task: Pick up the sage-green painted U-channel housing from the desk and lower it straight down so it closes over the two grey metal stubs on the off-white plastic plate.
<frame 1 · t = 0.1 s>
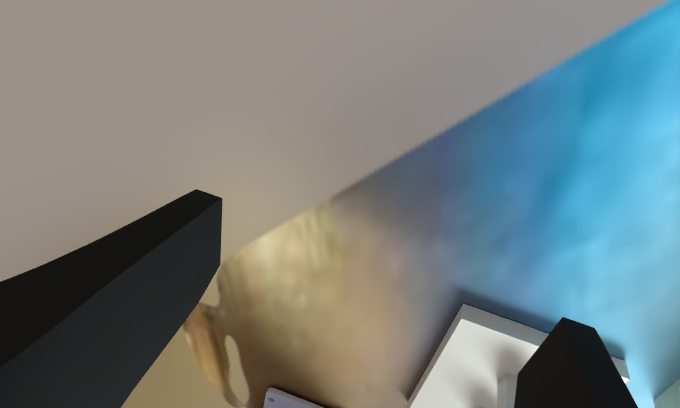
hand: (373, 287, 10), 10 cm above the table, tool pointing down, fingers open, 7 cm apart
stub plate: (501, 384, 26), on the table
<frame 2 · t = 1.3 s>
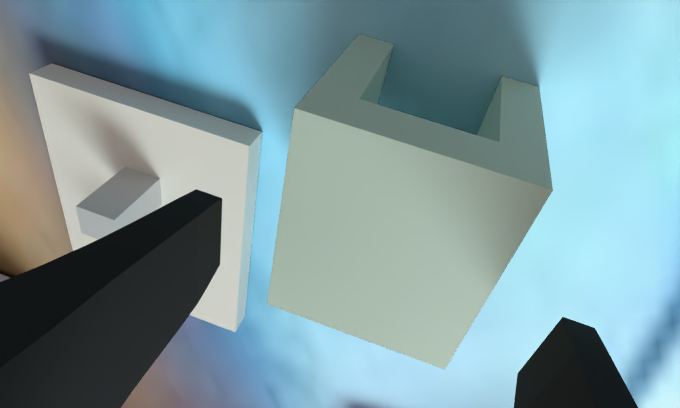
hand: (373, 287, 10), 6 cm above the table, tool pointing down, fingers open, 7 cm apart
housing: (415, 152, 14), on the table
stub plate: (162, 207, 19), on the table
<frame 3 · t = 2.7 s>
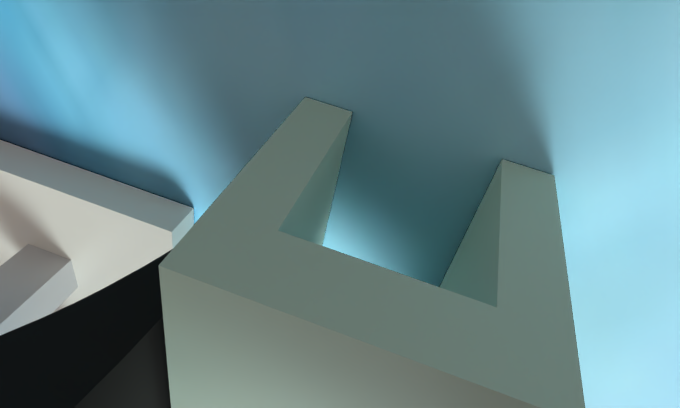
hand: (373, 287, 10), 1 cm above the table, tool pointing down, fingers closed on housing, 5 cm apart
housing: (387, 244, 11), on the table, touching gripper
stub plate: (87, 282, 16), on the table
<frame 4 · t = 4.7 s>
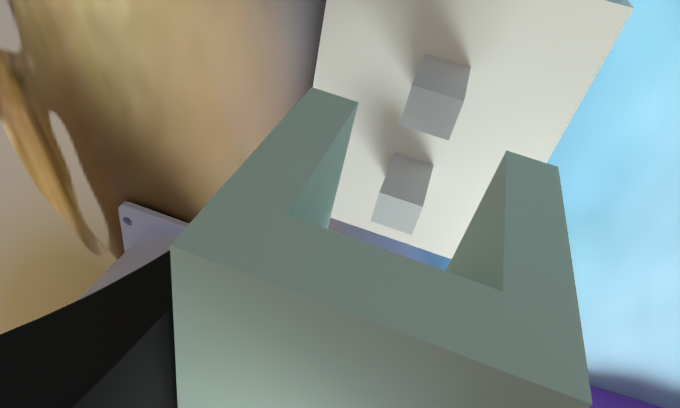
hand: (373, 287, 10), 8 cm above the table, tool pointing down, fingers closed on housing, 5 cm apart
housing: (390, 235, 11), point 7 cm above the table, touching gripper
stub plate: (428, 116, 16), on the table
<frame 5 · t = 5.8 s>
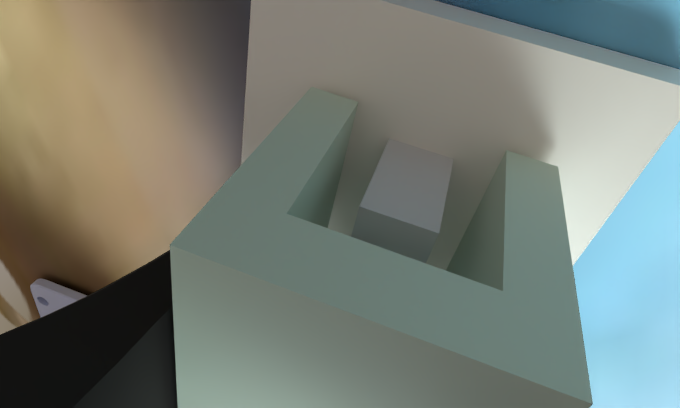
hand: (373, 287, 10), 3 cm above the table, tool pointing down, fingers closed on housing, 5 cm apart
housing: (390, 235, 11), point 1 cm above the table, touching gripper
stub plate: (399, 207, 12), on the table
when the fingers open (3 cm above the table, at t = 6.6 s): housing stays where it is, resting on stub plate.
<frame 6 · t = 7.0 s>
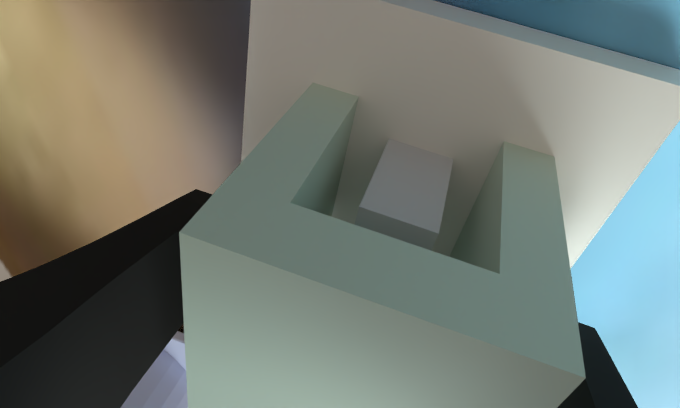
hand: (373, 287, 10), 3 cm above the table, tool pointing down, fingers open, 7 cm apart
housing: (392, 227, 11), point 1 cm above the table, touching stub plate
stub plate: (399, 207, 12), on the table
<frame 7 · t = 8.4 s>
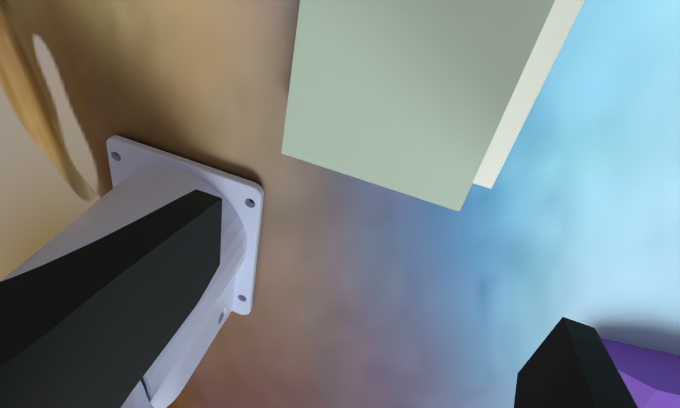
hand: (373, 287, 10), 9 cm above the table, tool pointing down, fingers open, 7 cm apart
housing: (427, 19, 14), point 1 cm above the table, touching stub plate
stub plate: (431, 14, 15), on the table
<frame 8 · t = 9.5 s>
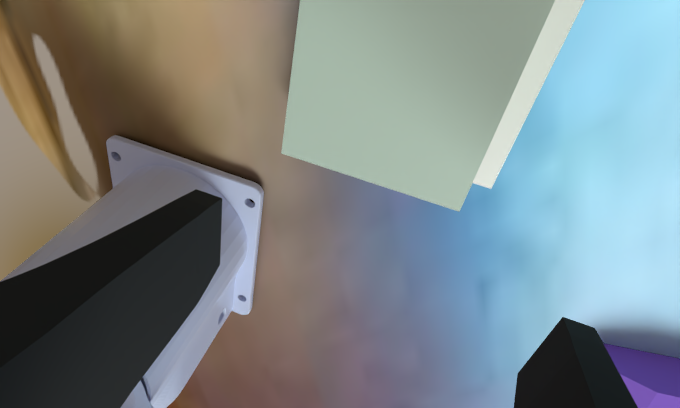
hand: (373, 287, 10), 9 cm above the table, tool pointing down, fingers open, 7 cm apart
housing: (427, 19, 14), point 1 cm above the table, touching stub plate
stub plate: (431, 14, 15), on the table
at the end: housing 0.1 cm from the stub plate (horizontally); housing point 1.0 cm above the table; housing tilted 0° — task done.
